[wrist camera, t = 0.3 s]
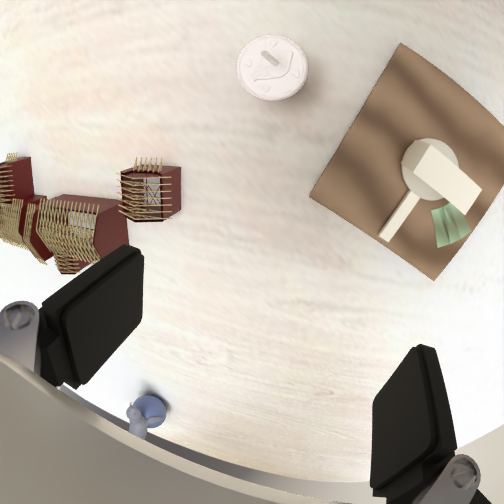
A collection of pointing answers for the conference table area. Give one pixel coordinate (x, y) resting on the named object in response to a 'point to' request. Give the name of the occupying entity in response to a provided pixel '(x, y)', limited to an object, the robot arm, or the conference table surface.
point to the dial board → (391, 154)
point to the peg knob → (431, 181)
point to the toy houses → (56, 213)
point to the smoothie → (272, 67)
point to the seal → (145, 415)
